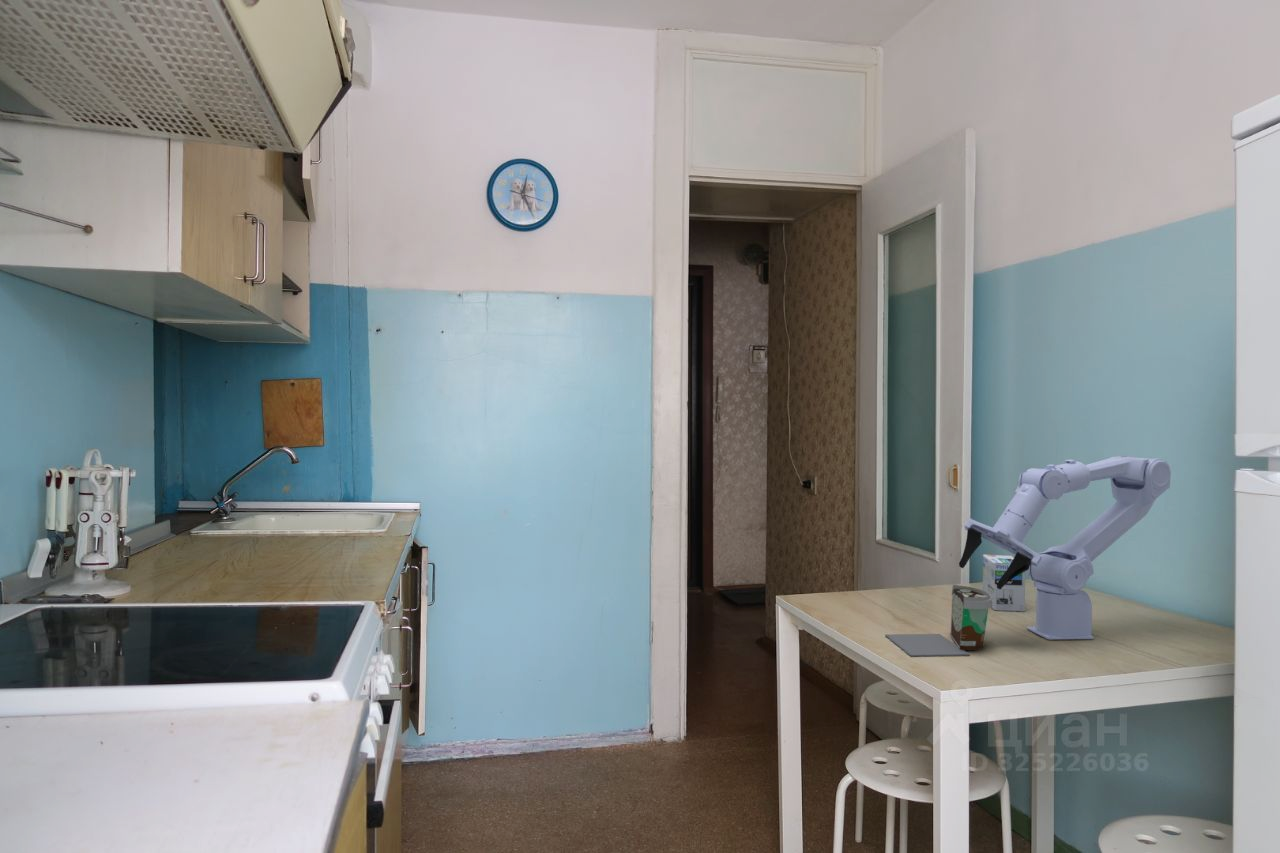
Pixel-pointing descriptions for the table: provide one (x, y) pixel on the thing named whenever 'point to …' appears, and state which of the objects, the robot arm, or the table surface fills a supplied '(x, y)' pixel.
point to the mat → (926, 645)
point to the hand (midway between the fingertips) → (979, 576)
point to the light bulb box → (1011, 592)
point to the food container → (969, 616)
